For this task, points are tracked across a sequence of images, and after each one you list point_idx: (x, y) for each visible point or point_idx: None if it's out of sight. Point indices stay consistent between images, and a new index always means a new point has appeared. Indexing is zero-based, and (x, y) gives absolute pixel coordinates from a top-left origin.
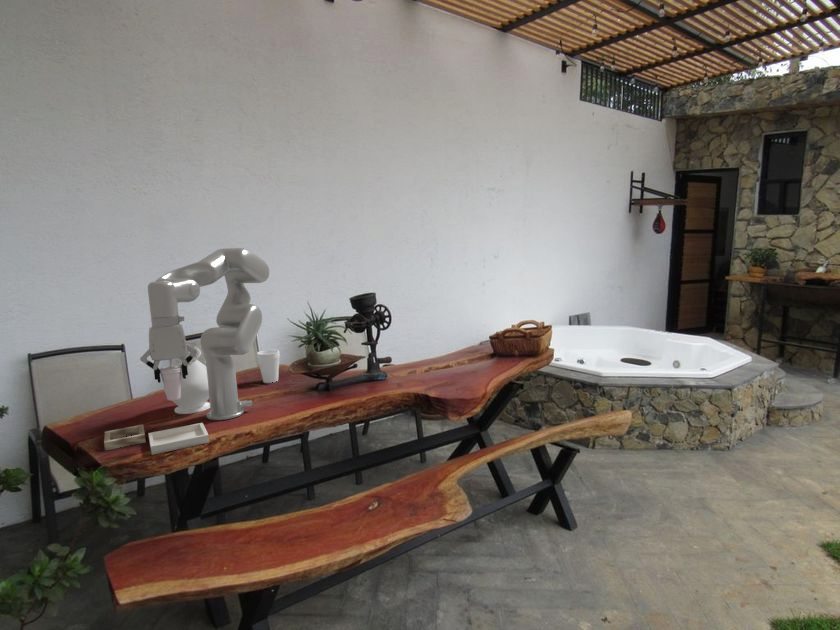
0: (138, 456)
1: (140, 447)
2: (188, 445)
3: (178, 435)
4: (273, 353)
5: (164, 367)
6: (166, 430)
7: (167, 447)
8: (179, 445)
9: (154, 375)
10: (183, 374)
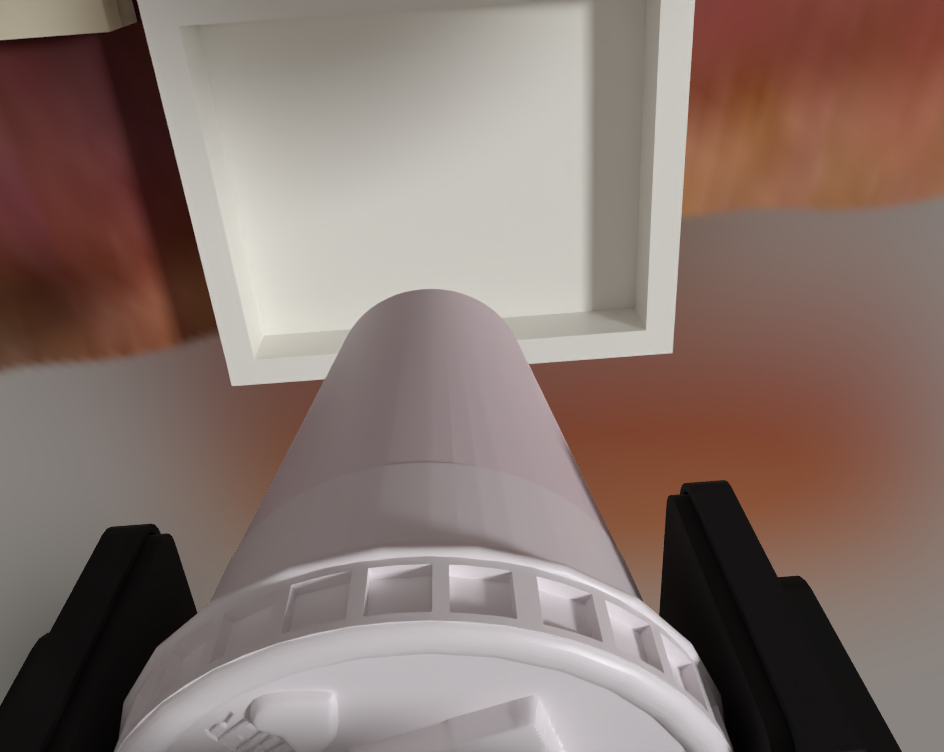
0: (151, 335)
1: (118, 138)
2: None
3: (434, 50)
4: None
5: (218, 712)
6: (320, 10)
7: None
8: None
9: (11, 690)
10: None
